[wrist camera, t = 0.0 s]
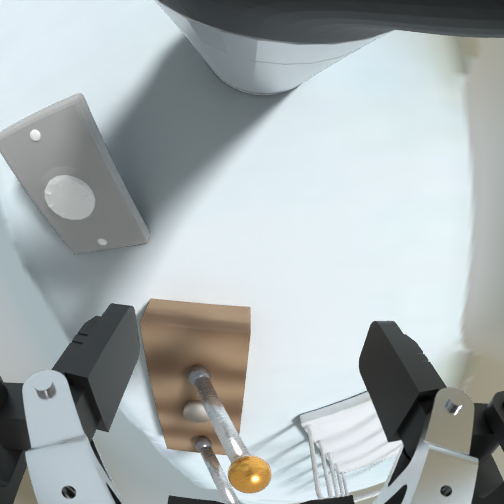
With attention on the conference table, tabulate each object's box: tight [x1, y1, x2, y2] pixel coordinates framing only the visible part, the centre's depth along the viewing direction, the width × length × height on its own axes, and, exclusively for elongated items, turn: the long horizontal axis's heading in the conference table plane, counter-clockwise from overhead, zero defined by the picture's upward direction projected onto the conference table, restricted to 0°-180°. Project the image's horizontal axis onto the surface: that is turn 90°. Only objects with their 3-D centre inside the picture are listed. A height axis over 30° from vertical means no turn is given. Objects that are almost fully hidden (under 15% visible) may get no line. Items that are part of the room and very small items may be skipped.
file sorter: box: [299, 392, 403, 502], centre depth 34 cm, size 25×17×16 cm
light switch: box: [0, 93, 150, 255], centre depth 22 cm, size 8×6×14 cm
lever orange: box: [188, 365, 271, 493], centre depth 22 cm, size 3×3×14 cm
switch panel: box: [140, 299, 250, 455], centre depth 32 cm, size 24×10×5 cm, turn 175°
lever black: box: [195, 437, 241, 504], centre depth 28 cm, size 3×3×14 cm
